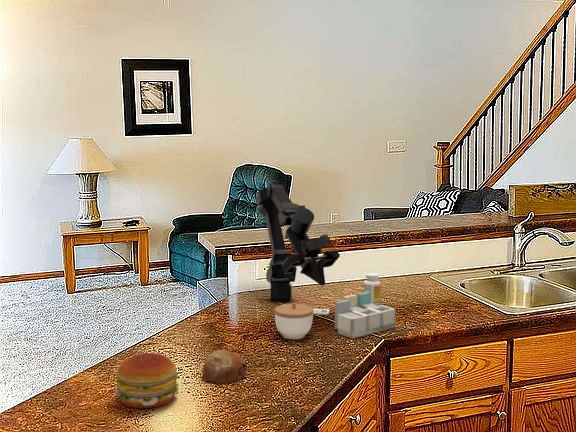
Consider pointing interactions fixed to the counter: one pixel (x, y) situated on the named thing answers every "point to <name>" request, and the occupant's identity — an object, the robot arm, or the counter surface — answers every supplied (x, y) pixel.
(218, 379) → the bread roll
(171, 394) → the burger
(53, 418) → the counter surface
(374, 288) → the supplement bottle
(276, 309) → the lidded jar
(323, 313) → the card
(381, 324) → the gray divided box
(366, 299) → the button teal
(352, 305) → the button tan
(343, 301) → the drawer slate
